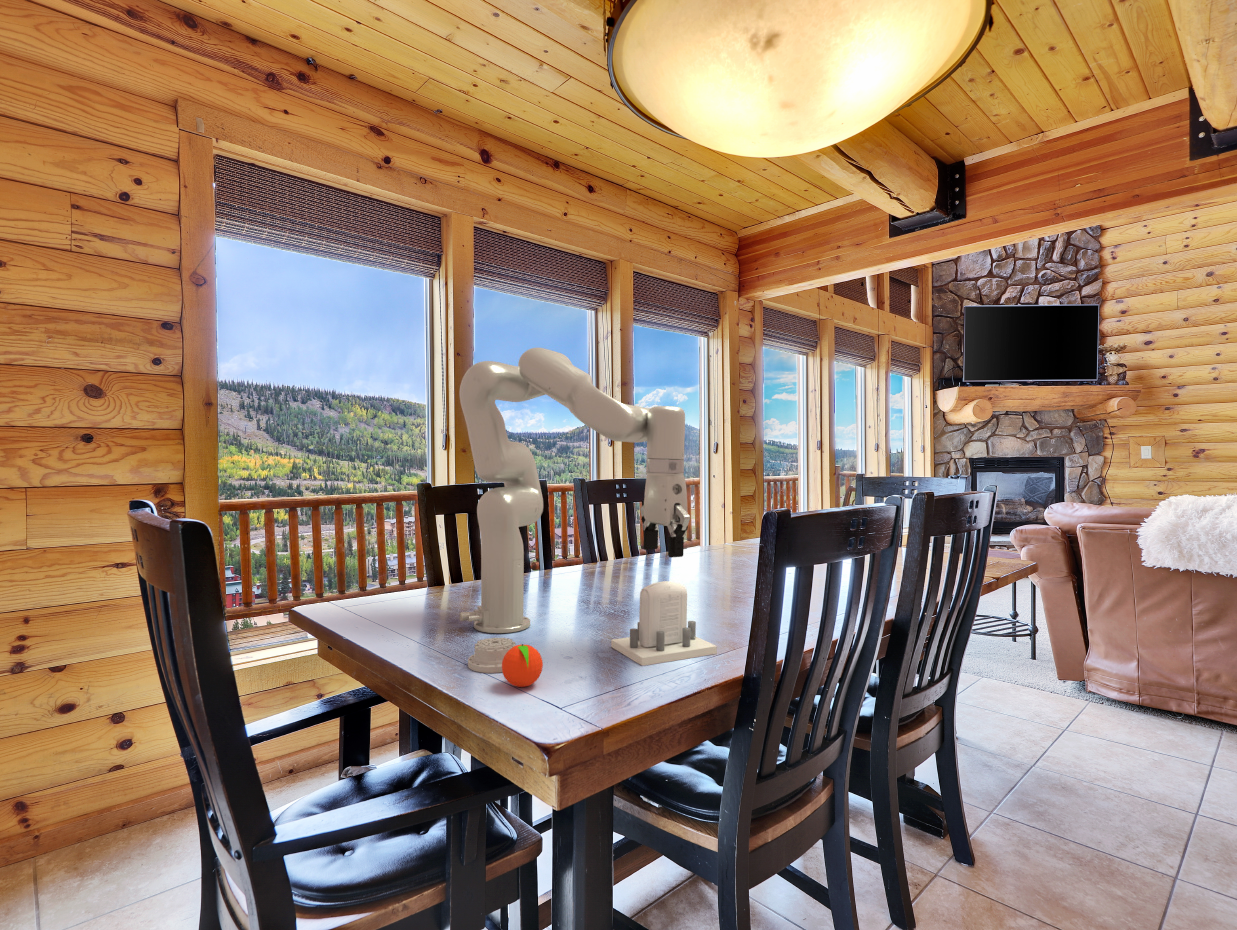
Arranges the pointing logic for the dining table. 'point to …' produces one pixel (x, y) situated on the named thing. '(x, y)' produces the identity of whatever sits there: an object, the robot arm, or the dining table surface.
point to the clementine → (522, 665)
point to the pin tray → (664, 647)
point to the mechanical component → (490, 655)
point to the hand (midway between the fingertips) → (662, 552)
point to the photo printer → (662, 612)
